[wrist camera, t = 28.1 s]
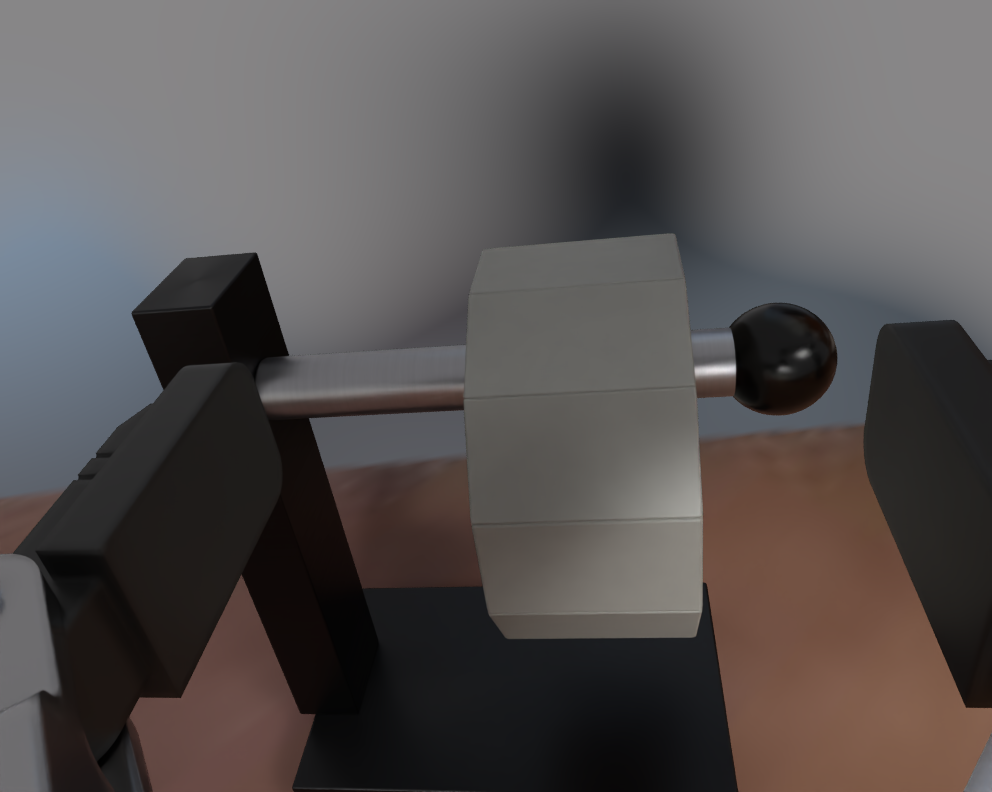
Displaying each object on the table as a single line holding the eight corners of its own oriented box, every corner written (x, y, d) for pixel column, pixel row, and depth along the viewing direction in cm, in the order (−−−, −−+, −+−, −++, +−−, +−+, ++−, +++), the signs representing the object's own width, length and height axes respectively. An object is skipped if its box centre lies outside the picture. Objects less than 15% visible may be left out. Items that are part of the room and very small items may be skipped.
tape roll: (670, 469, 27) (664, 185, 22) (702, 719, 19) (704, 360, 14) (532, 474, 28) (497, 200, 23) (506, 718, 20) (442, 376, 15)
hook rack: (772, 604, 29) (805, 166, 21) (823, 824, 23) (904, 317, 14) (350, 609, 32) (221, 220, 23) (285, 810, 25) (70, 371, 16)
